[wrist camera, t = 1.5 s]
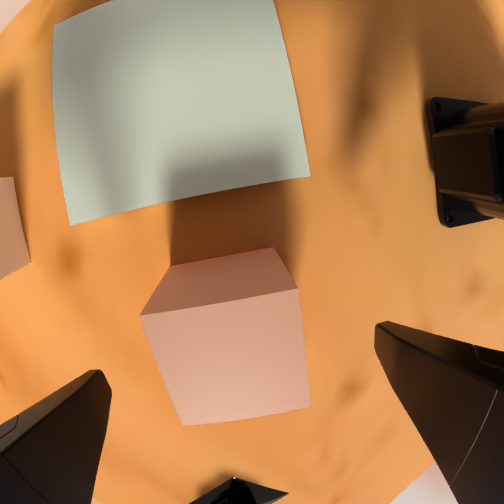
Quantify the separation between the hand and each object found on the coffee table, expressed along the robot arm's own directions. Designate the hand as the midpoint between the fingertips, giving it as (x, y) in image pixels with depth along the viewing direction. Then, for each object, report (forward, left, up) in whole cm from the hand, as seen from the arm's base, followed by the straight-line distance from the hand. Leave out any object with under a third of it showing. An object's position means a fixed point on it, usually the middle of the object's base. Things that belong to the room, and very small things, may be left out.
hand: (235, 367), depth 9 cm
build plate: (+1, -10, -5) cm, 11 cm away
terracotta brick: (0, 0, -5) cm, 5 cm away
